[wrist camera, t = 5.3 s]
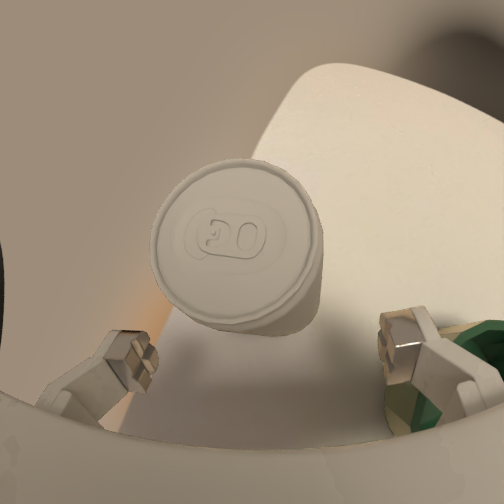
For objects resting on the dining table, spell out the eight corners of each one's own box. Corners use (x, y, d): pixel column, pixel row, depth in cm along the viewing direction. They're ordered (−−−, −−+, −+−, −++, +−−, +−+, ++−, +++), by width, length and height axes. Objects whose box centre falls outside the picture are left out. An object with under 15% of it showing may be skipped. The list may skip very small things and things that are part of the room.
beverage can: (252, 258, 20) (171, 153, 9) (324, 267, 19) (332, 158, 7) (238, 330, 19) (126, 308, 7) (313, 342, 17) (309, 347, 6)
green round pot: (392, 466, 14) (416, 507, 8) (373, 352, 16) (398, 357, 11) (494, 418, 13) (541, 434, 7) (479, 311, 15) (529, 296, 10)
